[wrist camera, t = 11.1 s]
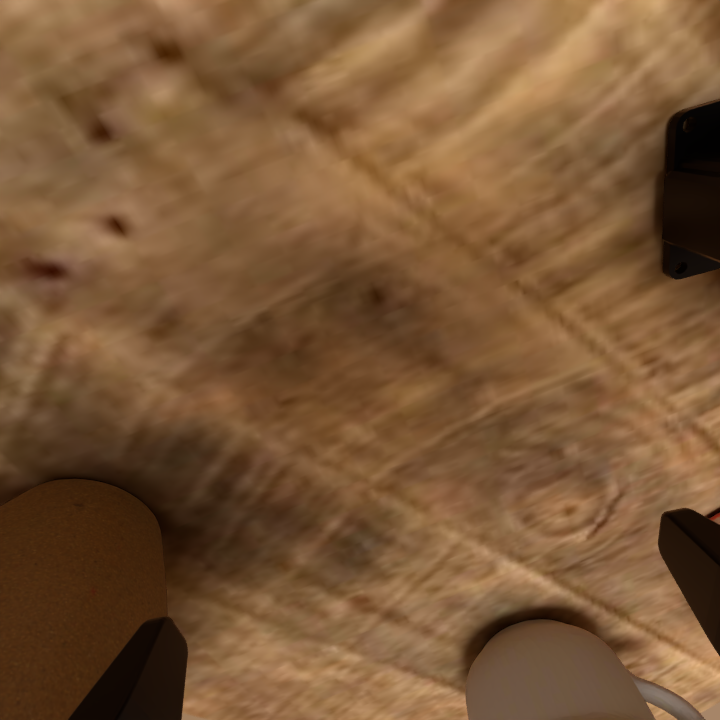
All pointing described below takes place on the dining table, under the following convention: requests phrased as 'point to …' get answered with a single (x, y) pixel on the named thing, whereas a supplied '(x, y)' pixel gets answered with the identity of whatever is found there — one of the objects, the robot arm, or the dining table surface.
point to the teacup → (560, 679)
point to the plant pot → (72, 591)
